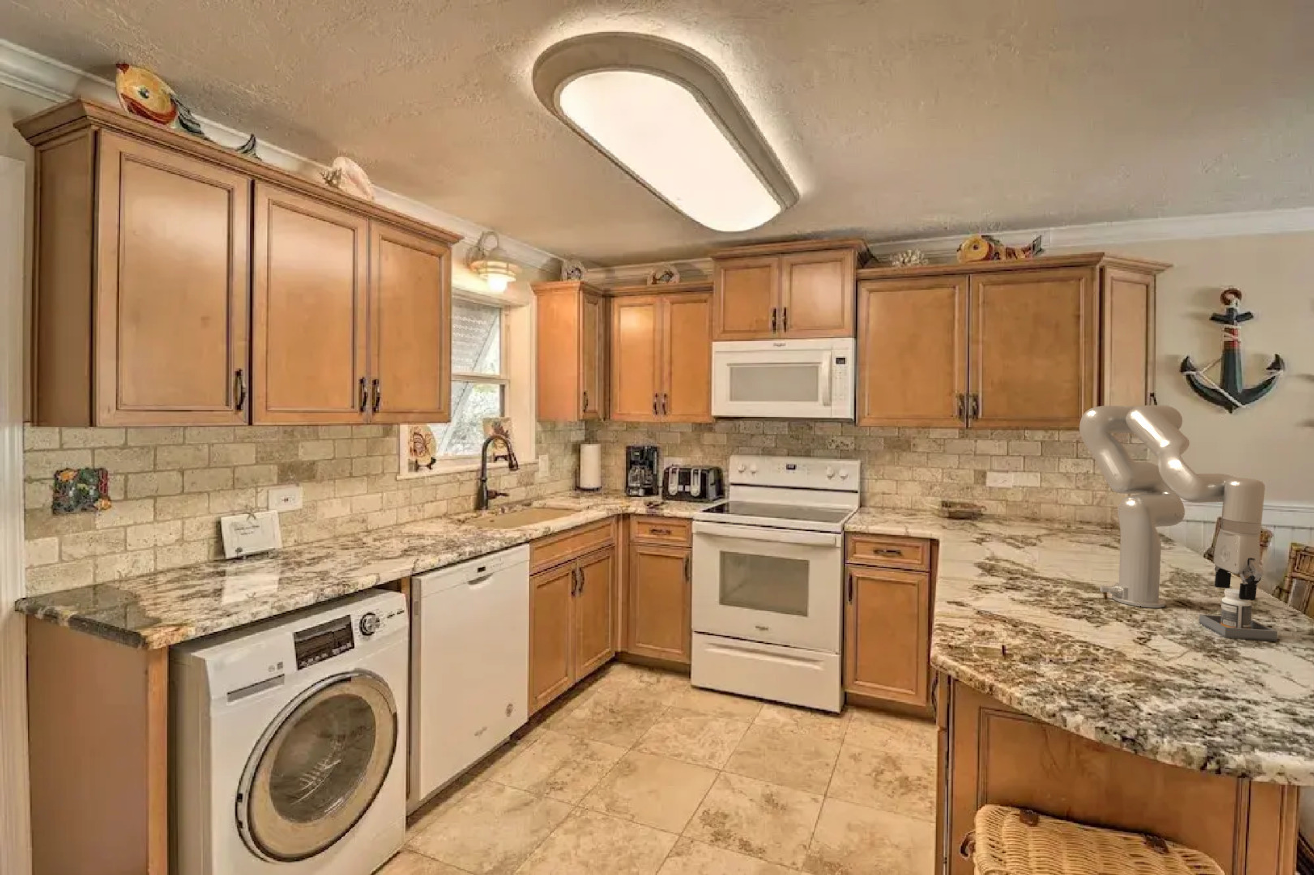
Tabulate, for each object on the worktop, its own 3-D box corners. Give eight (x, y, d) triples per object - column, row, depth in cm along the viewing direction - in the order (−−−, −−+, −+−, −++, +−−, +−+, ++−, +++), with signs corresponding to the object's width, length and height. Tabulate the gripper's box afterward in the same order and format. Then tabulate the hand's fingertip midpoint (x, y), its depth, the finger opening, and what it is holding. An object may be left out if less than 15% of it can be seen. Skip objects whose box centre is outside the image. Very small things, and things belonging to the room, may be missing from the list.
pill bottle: (1242, 627, 165) (1244, 588, 165) (1255, 634, 160) (1257, 595, 159) (1215, 624, 167) (1217, 586, 167) (1227, 631, 162) (1229, 592, 161)
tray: (1224, 637, 159) (1225, 627, 159) (1199, 623, 170) (1199, 614, 169) (1276, 641, 157) (1277, 631, 157) (1247, 626, 167) (1247, 617, 167)
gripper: (1202, 519, 171) (1196, 582, 173) (1245, 534, 155) (1239, 603, 156) (1235, 521, 170) (1229, 584, 171) (1282, 536, 153) (1275, 606, 154)
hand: (1234, 593), depth 164 cm, fingers open, 9 cm apart
